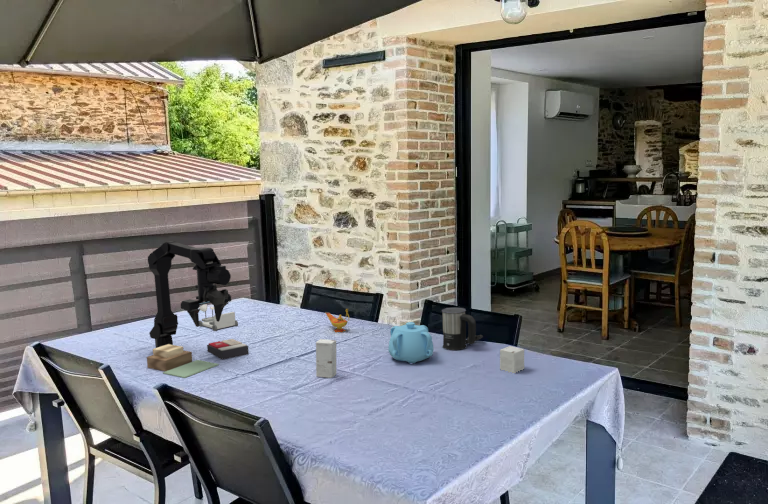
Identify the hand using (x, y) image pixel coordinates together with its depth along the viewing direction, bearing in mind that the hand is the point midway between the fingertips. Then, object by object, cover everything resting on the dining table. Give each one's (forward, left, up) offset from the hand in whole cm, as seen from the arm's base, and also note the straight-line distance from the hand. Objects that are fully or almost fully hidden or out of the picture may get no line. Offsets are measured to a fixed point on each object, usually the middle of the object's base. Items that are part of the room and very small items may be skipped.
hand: (207, 324), depth 232 cm
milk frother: (+76, +59, -14) cm, 97 cm away
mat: (+1, -10, -14) cm, 17 cm away
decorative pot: (+66, +35, -14) cm, 76 cm away
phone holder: (-38, +40, -15) cm, 57 cm away
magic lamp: (+18, +57, -14) cm, 61 cm away
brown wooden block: (-10, -10, -14) cm, 20 cm away
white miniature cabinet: (+49, +6, -14) cm, 51 cm away
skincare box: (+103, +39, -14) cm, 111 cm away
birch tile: (-11, -10, -10) cm, 18 cm away
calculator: (-2, +11, -15) cm, 19 cm away
